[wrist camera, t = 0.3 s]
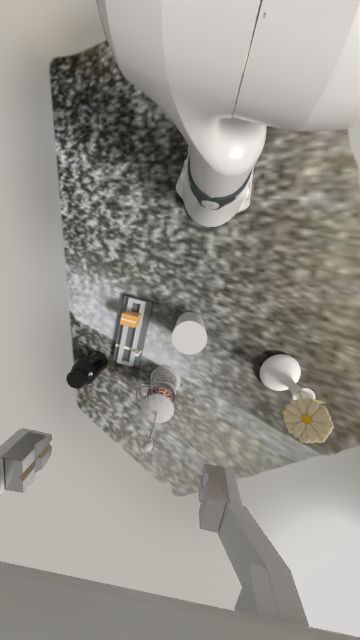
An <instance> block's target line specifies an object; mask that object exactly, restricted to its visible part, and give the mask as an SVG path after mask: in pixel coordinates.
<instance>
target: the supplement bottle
mask: <svg viewBox="0 0 360 640" xmlns="http://www.w3.org/2000/svg"><path fill="white" fill-rule="evenodd" d="M107 364H108V361H107V358H106V356H105V355H104V354H103V353H101V352H97V351H95V352H91V353H90V354H88V355H87V356H85V357H84V358H83V359H81V360H80V361H78V362H77V363H76V364H74V366H73V367H72V370H71V372H70V373H69V374H68V375H67V382H68V384H69V385H70V386H71V387H73V388H81V387H82V386H84V385H87V384H90V383H92V382H93V381H94V380H95V379H96V378H97V377H98V376H99V375H100V374H101V373H102V372H103V371H104V369H105V368H106V367H107Z"/></svg>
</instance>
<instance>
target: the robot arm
mask: <svg viewBox="0 0 360 640" xmlns="http://www.w3.org/2000/svg"><path fill="white" fill-rule="evenodd" d="M96 2H97V6H98V10H99V15H100V19H101V23H102V26H103V30H104V33H105V36H106V39H107V42H108V44H109V47H110V50H111V52H112V54H113V56H114V58H115V61H116V63H117V65H118V67H119V69H120V70H121V72H122V74H123V75H124V77H125V78H126V79H127V81H129V82H130V83H131V84H133V85H134V86H135V87H137V88H138V89H140V90H141V91H142V92H144V93H145V94H146V95H147V96H148V97H150V98H151V99H152V100H153V101H154V102H155V103H156V104H157V105H158V106H159V107H160V108H161V109H162V110H163V111H164V112H165V113H166V114H167V115H168V117H169V118H170V119H171V120H172V122H173V123H174V124H175V126H176V127H177V128H178V130H179V131H180V133H181V134H182V136H183V137H184V139H185V140H186V142H187V144H188V153H189V154H188V157H187V159H185V162H184V167H183V169H182V172H181V174H180V177H179V179H178V182H177V184H176V192H177V193H178V195H179V196H180V197H181V198H182V200H183V202H184V205H185V208H186V210H187V212H188V214H189V216H190V217H191V218H192V219H193V220H194V221H195V222H197V223H198V224H200V225H203V226H206V227H215V226H219V225H222V224H224V223H226V222H227V221H229V220H230V219H231V218H232V217H233V216H234V215H235V214H236V213H239V212H241V211H244V210H245V209H247V208H248V206H249V203H250V194H251V186H252V177H253V168H254V165H255V163H256V161H257V159H258V157H259V156H260V154H261V152H262V149H263V146H264V143H265V138H266V126H271V127H275V128H279V129H283V130H287V131H292V132H320V131H334V130H345V129H347V128H349V127H351V126H352V125H354V124H356V123H357V122H359V121H360V0H262V1H261V5H260V9H259V13H258V17H257V21H256V25H255V29H254V33H253V28H254V24H255V20H256V16H257V12H258V8H259V4H260V0H96ZM252 33H253V37H252ZM251 37H252V41H251ZM250 41H251V45H250ZM249 45H250V49H249ZM248 49H249V53H248ZM247 53H248V57H247ZM246 57H247V61H246ZM245 61H246V65H245ZM244 65H245V69H244ZM243 69H244V73H243ZM51 440H52V435H51V434H47V433H43V432H38V431H34V430H29V429H24V428H22V429H20V430H18V431H17V432H16V433H15V434H14V435H13V436H11V437H10V438H9V439H8V440H7V441H6V442H4V443H3V444H2V445H1V446H0V494H1V493H2V492H4V491H5V490H10V491H16V492H22V493H23V492H24V491H25V490H26V488H27V487H28V486H29V485H30V483H31V482H32V481H33V480H34V478H35V473H36V472H37V471H39V470H41V469H42V468H43V467H44V466H45V464H46V463H47V461H48V459H49V457H50V455H51V451H52V447H51V445H50V444H49V443H50V441H51ZM202 473H203V475H201V477H200V482H199V501H200V503H201V505H200V510H199V517H200V518H199V520H200V528H201V529H204V530H209V531H213V532H217V533H218V535H219V537H220V539H221V542H222V544H223V546H224V548H225V550H226V553H227V555H228V557H229V559H230V561H231V563H232V566H233V568H234V570H235V572H236V574H237V576H238V579H239V581H240V583H241V585H242V589H241V592H240V595H239V597H238V600H237V603H236V605H235V611H231V610H227V609H222V608H218V607H213V606H208V605H203V604H199V603H194V602H189V601H184V600H180V599H175V598H170V597H166V596H161V595H156V594H152V593H147V592H142V591H137V590H133V589H128V588H123V587H119V586H114V585H109V584H104V583H100V582H95V581H90V580H86V579H81V578H76V577H72V576H67V575H62V574H57V573H53V572H48V571H43V570H38V569H34V568H29V567H24V566H19V565H15V564H10V563H4V562H0V640H360V637H356V636H351V635H346V634H341V633H337V632H332V631H327V630H322V629H318V628H313V627H309V625H308V622H307V619H306V615H305V613H304V610H303V607H302V604H301V601H300V598H299V595H298V592H297V589H296V586H295V583H294V580H293V577H292V574H291V571H290V569H289V568H288V566H287V565H286V564H285V562H284V561H283V559H282V558H281V556H280V555H279V554H278V552H277V551H276V549H275V548H274V547H273V545H272V544H271V542H270V541H269V540H268V538H267V537H266V535H265V534H264V533H263V531H262V530H261V528H260V527H259V525H258V524H257V523H256V521H255V520H254V518H253V517H252V515H251V514H250V513H249V511H248V510H247V508H246V507H244V506H242V503H241V499H240V494H239V490H238V485H237V481H236V477H235V472H234V470H233V469H230V468H225V467H220V466H215V465H209V464H204V465H203V469H202Z"/></svg>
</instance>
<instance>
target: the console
mask: <svg viewBox="0 0 360 640" xmlns="http://www.w3.org/2000/svg"><path fill="white" fill-rule="evenodd" d="M152 305H153V302H150V301H146V300H142V299H138V298H134V297H130V296H127V295H126V296H124V301H123V306H122V312H121V316H122V313H123V312H125V311H127V310H128V311H132V312H136V313H140V314H141V318H140V323H139V325H138V326H137V327H135V328H133V327H129V326H125V325H121V324H120V323H119V329H118V334H117V340H116V345H115V351H114V356H113V360H115V361H117V363H120V364H124V365H128V366H133V365H135V366H139V365H140V361H141V356H142V351H143V347H144V342H145V337H146V333H147V328H148V324H149V319H150V314H151V310H152ZM120 321H121V318H120Z"/></svg>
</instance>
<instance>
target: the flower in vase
mask: <svg viewBox="0 0 360 640" xmlns="http://www.w3.org/2000/svg"><path fill="white" fill-rule="evenodd" d="M300 373H301V371H300V366H299V364H298V362H297V361H296V360H295V359H294V358H293V357H291V356H289V355H285V354H278V355H274V356H271V357H270V358H268V359H267V360H266V361H265V362H264V363H263V364H262V366H261V368H260V379H261V381H262V383H263V384H264V385H265V386H266V387H268V388H270V389H272V390H276V391H283V390H287V389H289V390H290V391H291V393H292V395H293V396H292V400H291V403H290V404H289V405H287V406H286V407H284V408H283V409H282V410H281V411H280V414H282V415H284V421H285V424H286V428H287V429H288V432H289V433H294V437H296V438H299V440H300V441H301V442H305V443H308V442H310V443H314V442H318V443H320V442H325V439H327V436H328V435H329V432H331V431H332V429H333V428H334V425H333V423H332V421H331V420H330V419H331V417H330V415H329V414H328V410H327V409H326V407H325V406H323V405H321V406H320V404H321V403H325V402H322V401H320V400H315V394H314V392H313V391H312V390H310V389H307V388H301V387H300V386H298V385H297V384H296V383H297V382H298V380H299V378H300Z"/></svg>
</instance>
